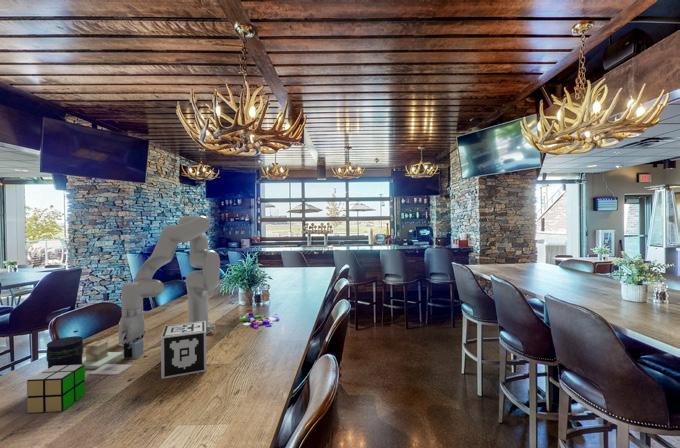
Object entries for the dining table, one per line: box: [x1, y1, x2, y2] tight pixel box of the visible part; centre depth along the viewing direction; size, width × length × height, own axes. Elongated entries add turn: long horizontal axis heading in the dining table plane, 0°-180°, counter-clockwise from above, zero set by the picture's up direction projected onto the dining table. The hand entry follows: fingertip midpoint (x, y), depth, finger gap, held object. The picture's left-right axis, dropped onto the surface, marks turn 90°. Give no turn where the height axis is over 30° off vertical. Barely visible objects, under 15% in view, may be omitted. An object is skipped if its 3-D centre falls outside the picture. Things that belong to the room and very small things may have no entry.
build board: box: [82, 351, 124, 370], centre depth 131 cm, size 13×13×1 cm
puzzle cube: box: [26, 365, 86, 414], centre depth 100 cm, size 10×10×10 cm
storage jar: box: [46, 330, 84, 369], centre depth 113 cm, size 10×10×18 cm
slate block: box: [127, 339, 145, 360], centre depth 136 cm, size 5×5×6 cm
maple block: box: [85, 340, 109, 361], centre depth 131 cm, size 5×5×6 cm
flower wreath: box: [239, 312, 280, 330], centre depth 184 cm, size 25×20×4 cm
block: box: [160, 321, 208, 380], centre depth 126 cm, size 15×15×15 cm
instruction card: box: [89, 363, 133, 376], centre depth 123 cm, size 11×8×1 cm
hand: (132, 354), depth 136 cm, fingers closed on slate block, 5 cm apart
